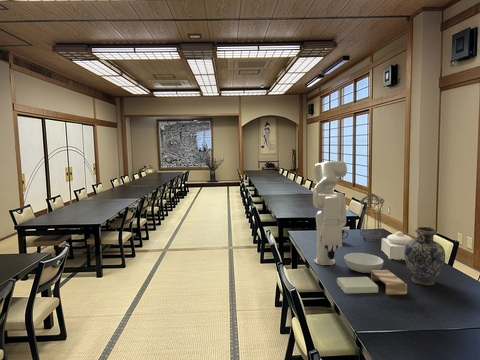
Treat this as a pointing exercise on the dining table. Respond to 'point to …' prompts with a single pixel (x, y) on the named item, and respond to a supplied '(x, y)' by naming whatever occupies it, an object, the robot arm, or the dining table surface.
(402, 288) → the overhang
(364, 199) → the geometric lantern
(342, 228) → the coffee mug
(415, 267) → the decorative vase
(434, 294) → the dining table surface
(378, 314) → the dining table surface
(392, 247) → the butter dish
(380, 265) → the serving bowl
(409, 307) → the dining table surface
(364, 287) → the pale green flat slab
